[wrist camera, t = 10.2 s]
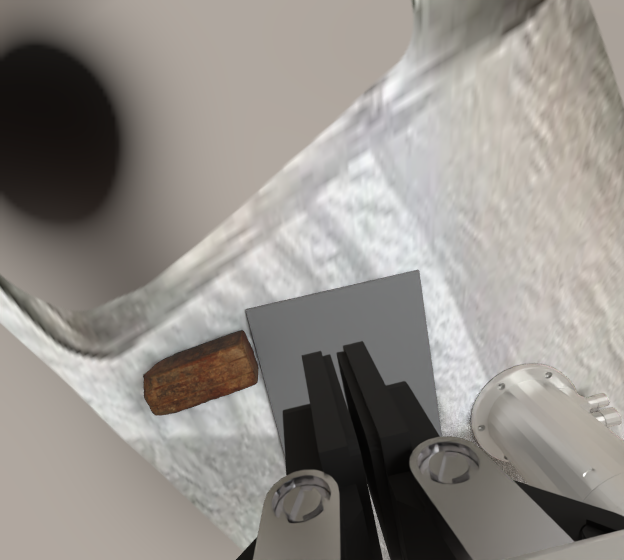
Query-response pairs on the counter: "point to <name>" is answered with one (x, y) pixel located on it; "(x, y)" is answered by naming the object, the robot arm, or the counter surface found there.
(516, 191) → the counter surface
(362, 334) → the mat
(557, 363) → the counter surface
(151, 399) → the brick
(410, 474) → the robot arm
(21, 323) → the counter surface
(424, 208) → the counter surface
